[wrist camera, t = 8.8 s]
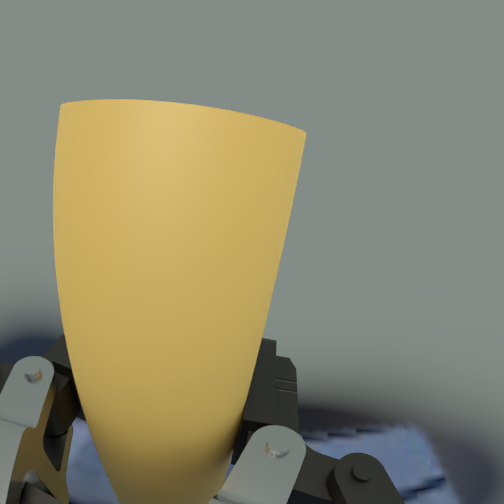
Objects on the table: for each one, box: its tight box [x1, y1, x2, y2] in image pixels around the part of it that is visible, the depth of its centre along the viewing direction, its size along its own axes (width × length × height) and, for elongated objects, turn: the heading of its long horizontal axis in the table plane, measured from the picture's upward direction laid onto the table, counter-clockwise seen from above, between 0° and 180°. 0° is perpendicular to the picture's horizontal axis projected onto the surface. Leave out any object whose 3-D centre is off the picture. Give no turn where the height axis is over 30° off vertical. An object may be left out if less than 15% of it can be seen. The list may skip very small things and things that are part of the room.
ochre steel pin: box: [53, 99, 307, 504], centre depth 8 cm, size 4×4×16 cm
